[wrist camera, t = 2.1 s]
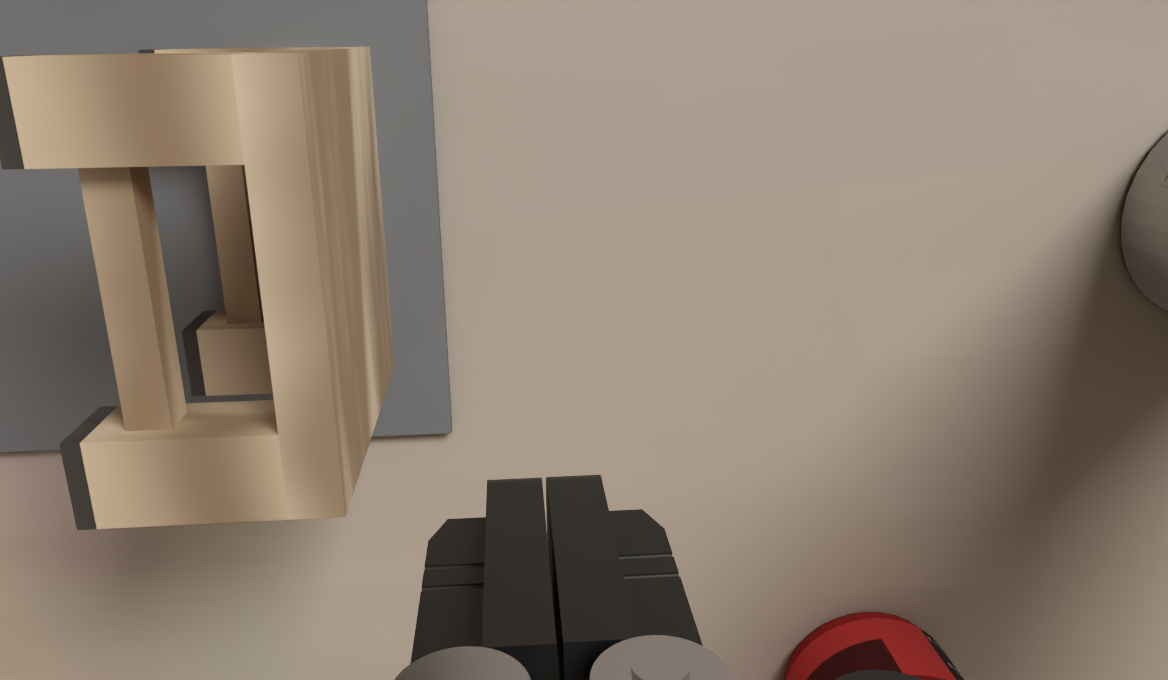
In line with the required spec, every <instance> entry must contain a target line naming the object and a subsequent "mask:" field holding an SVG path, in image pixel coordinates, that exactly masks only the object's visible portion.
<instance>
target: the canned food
mask: <svg viewBox="0 0 1168 680" xmlns="http://www.w3.org/2000/svg"><path fill="white" fill-rule="evenodd" d="M862 670H888V671H896V672H900V673H904V674H909V675H912V676H915V677H918V678H921V679H923V680H964V679H963V677H962V676H961V675H960V673H959V672H958V671H957V669H956V668H955V666H954V665H953V664H952V662H951V661H950V659H949V658H948V657H947V655H946V654H945V653H944V651H943V650H942V648H941V647H940V646H939V645H938V644H937V642H936V641H935V640H934V639H933V638H932V637H931V636H930V635H928V634H927V633H926V632H924V631H923V630H921V629H920V628H918V627H917V626H915V625H914V624H912V623H911V622H909V621H907V620H905V619H902V618H900V617H898V616H895V615H890V614H886V613H879V612H863V613H855V614H850V615H846V616H843V617H839V618H836V619H834V620H832V621H830V622H828V623H826V624H824V625H822V626H820V627H819V628H817V629H816V630H815V631H813V632H812V633H810V634H809V635H808V636H807V637H806V638H805V639H804V640H803V641H802V642H801V643H800V644H799V646H798V647H797V649H796V650H795V652H794V653H793V655H792V656H791V658H790V661H789V663H788V666H787V668H786V674H785V680H836V679H837V678H839V677H841V676H843V675H846V674H848V673H852V672H856V671H862Z"/></svg>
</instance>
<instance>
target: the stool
mask: <svg viewBox="0 0 1168 680" xmlns="http://www.w3.org/2000/svg"><path fill="white" fill-rule="evenodd" d="M138 52H139V54H55V55H16V56H0V161H1V166H2V170H5V169H56V168H78V173H79V178H80V184H81V189H82V195H83V200H84V206H85V211H86V217H87V222H88V228H89V233H90V239H91V244H92V250H93V255H94V261H95V266H96V272H97V277H98V283H99V288H100V294H101V299H102V305H103V310H104V316H105V321H106V327H107V332H108V338H109V343H110V349H111V354H112V360H113V365H114V370H115V376H116V381H117V387H118V392H119V398H120V403H121V406H105V407H99V408H98V409H97V410H96V411H95V412H94V413H92V414H91V415H90V416H89V417H88V418H87V419H86V420H85V421H84V422H83V423H82V424H81V425H79V426H78V427H77V428H76V429H75V430H74V431H73V432H72V433H71V434H70V435H69V436H68V437H66V438H65V439H64V440H63V441H62V442H61V443H60V444H59V445H60V449H61V454H62V459H63V464H64V469H65V473H66V478H67V483H68V488H69V493H70V498H71V502H72V507H73V512H74V517H75V522H76V526H77V530H88V529H109V528H129V527H150V526H170V525H191V524H212V523H232V522H253V521H273V520H294V519H315V518H335V517H345V516H346V513H347V510H348V507H349V504H350V501H351V498H352V495H353V492H354V489H355V486H356V483H357V480H358V477H359V473H360V470H361V467H362V464H363V461H364V458H365V455H366V452H367V449H368V446H369V443H370V440H371V437H372V434H373V431H374V428H375V425H376V422H377V418H378V415H379V412H380V409H381V406H382V403H383V400H384V397H385V394H386V391H387V388H388V385H389V382H390V379H391V376H392V373H393V370H394V367H395V363H394V350H393V338H392V325H391V312H390V300H389V287H388V274H387V262H386V249H385V236H384V224H383V211H382V198H381V186H380V173H379V160H378V148H377V135H376V122H375V110H374V97H373V84H372V72H371V59H370V47H285V48H189V49H149V50H138ZM156 166H206V172H207V180H208V187H209V194H210V201H211V209H212V216H213V223H214V230H215V237H216V245H217V252H218V259H219V266H220V274H221V281H222V288H223V295H224V303H225V310H213V311H203V312H202V313H201V314H200V315H198V316H197V317H196V318H195V319H194V320H193V321H192V322H191V323H190V324H189V325H188V326H187V327H185V328H184V329H183V330H182V336H183V342H184V349H185V355H186V361H187V368H188V374H189V381H190V387H191V394H192V396H216V395H242V394H268V393H273V397H274V400H260V401H234V402H208V403H186V402H185V396H184V390H183V383H182V377H181V371H180V364H179V358H178V352H177V345H176V339H175V333H174V326H173V320H172V314H171V307H170V301H169V295H168V288H167V282H166V276H165V269H164V263H163V257H162V250H161V244H160V238H159V231H158V225H157V219H156V212H155V206H154V200H153V193H152V187H151V181H150V174H149V168H148V167H156Z"/></svg>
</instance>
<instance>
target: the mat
mask: <svg viewBox="0 0 1168 680" xmlns="http://www.w3.org/2000/svg"><path fill="white" fill-rule="evenodd" d="M285 47H370V59H371V72H372V84H373V97H374V110H375V122H376V135H377V148H378V160H379V173H380V186H381V198H382V211H383V224H384V236H385V249H386V262H387V274H388V287H389V300H390V312H391V325H392V338H393V350H394V363H395V367H394V370H393V373H392V376H391V379H390V382H389V385H388V388H387V391H386V394H385V397H384V400H383V403H382V406H381V409H380V412H379V415H378V418H377V422H376V425H375V428H374V431H373V434H372V437H374V436H398V435H422V434H445V433H452V417H451V401H450V384H449V367H448V350H447V333H446V316H445V299H444V283H443V266H442V249H441V232H440V215H439V198H438V181H437V165H436V148H435V131H434V114H433V97H432V80H431V63H430V46H429V30H428V13H427V0H0V56H16V55H55V54H139V52H138V50H149V49H189V48H285ZM148 168H149V174H150V181H151V187H152V193H153V200H154V206H155V212H156V219H157V225H158V231H159V238H160V244H161V250H162V257H163V263H164V269H165V276H166V282H167V288H168V295H169V301H170V307H171V314H172V320H173V326H174V333H175V339H176V345H177V352H178V358H179V364H180V371H181V377H182V383H183V390H184V396H185V402H186V403H208V402H234V401H260V400H274V397H273V393H268V394H242V395H216V396H192V394H191V387H190V381H189V374H188V368H187V361H186V355H185V349H184V342H183V336H182V330H183V329H184V328H185V327H187V326H188V325H189V324H190V323H191V322H192V321H193V320H194V319H195V318H196V317H197V316H198V315H200V314H201V313H202V312H203V311H213V310H225V303H224V295H223V288H222V281H221V274H220V266H219V259H218V252H217V245H216V237H215V230H214V223H213V216H212V209H211V201H210V194H209V187H208V180H207V172H206V166H156V167H148ZM105 406H121V403H120V398H119V392H118V387H117V381H116V376H115V370H114V365H113V360H112V354H111V349H110V343H109V338H108V332H107V327H106V321H105V316H104V310H103V305H102V299H101V294H100V288H99V283H98V277H97V272H96V266H95V261H94V255H93V250H92V244H91V239H90V233H89V228H88V222H87V217H86V211H85V206H84V200H83V195H82V189H81V184H80V178H79V173H78V168H56V169H5V170H2V166H1V161H0V452H18V451H41V450H61V449H60V445H59V444H60V443H61V442H62V441H63V440H64V439H65V438H66V437H68V436H69V435H70V434H71V433H72V432H73V431H74V430H75V429H76V428H77V427H78V426H79V425H81V424H82V423H83V422H84V421H85V420H86V419H87V418H88V417H89V416H90V415H91V414H92V413H94V412H95V411H96V410H97V409H98V408H99V407H105Z"/></svg>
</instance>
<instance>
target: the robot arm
mask: <svg viewBox="0 0 1168 680" xmlns="http://www.w3.org/2000/svg"><path fill="white" fill-rule="evenodd" d="M1121 245H1122V250H1123V255H1124V260H1125V264H1126V267H1127V269H1128V271H1129V273H1130V275H1131V277H1132V279H1133V281H1134V283H1135V284H1136V285H1137V287H1138V288H1139V289H1140V290H1141V291H1142V293H1143V294H1144V295H1145V296H1146V297H1147V298H1148V299H1149V300H1151V301H1152V302H1154V303H1155V304H1156V305H1158V306H1159V307H1161V308H1162V309H1164V310H1166V311H1168V133H1167V134H1166V135H1165V136H1164V137H1163V138H1162V139H1161V140H1160V141H1159V142H1158V144H1157V145H1156V146H1155V147H1154V148H1153V149H1152V150H1151V152H1150V153H1149V155H1148V156H1147V158H1146V159H1145V161H1144V162H1143V164H1142V165H1141V167H1140V168H1139V170H1138V171H1137V173H1136V176H1135V178H1134V180H1133V183H1132V185H1131V187H1130V190H1129V192H1128V194H1127V197H1126V202H1125V206H1124V211H1123V215H1122V220H1121ZM546 506H547V532H546V521H545V510H544V498H543V487H542V478H524V479H502V480H487V504H486V517H484V518H464V519H448V520H447V521H446V522H445V523H444V524H443V525H442V526H441V528H440V529H439V530H438V531H437V532H436V533H435V534H434V535H433V537H432V538H431V539H430V540H429V541H428V548H427V554H426V561H425V571H424V575H423V582H422V592H421V596H420V603H419V609H418V616H417V623H416V630H415V637H414V644H413V651H412V658H411V664H410V665H409V666H407V667H406V668H405V669H403V671H402V672H401V673H400V674H399V675H398V676H397V677H396V678H395V680H733V679H732V677H731V675H730V673H729V671H728V669H727V668H726V666H725V664H724V663H723V662H722V661H721V660H720V659H719V657H718V656H716V655H715V654H714V653H713V652H711V651H710V650H708V649H707V648H705V647H703V646H702V642H701V639H700V636H699V633H698V630H697V627H696V624H695V621H694V618H693V615H692V612H691V609H690V606H689V603H688V600H687V597H686V594H685V590H684V587H683V584H682V581H681V578H680V577H679V574H678V569H677V566H676V563H675V560H674V557H672V551H671V548H670V545H669V542H668V538H667V535H666V532H665V529H664V528H663V527H662V526H660V525H659V524H658V523H657V522H656V521H655V520H654V519H652V518H651V517H650V516H649V515H648V514H647V513H646V512H644V511H643V510H642V509H641V510H621V511H609V510H608V506H607V501H606V497H605V492H604V488H603V483H602V479H601V476H600V475H585V476H563V477H546ZM836 680H923V679H921V678H918V677H915V676H912V675H909V674H904V673H900V672H896V671H888V670H862V671H856V672H852V673H848V674H846V675H843V676H841V677H839V678H837V679H836Z"/></svg>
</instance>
